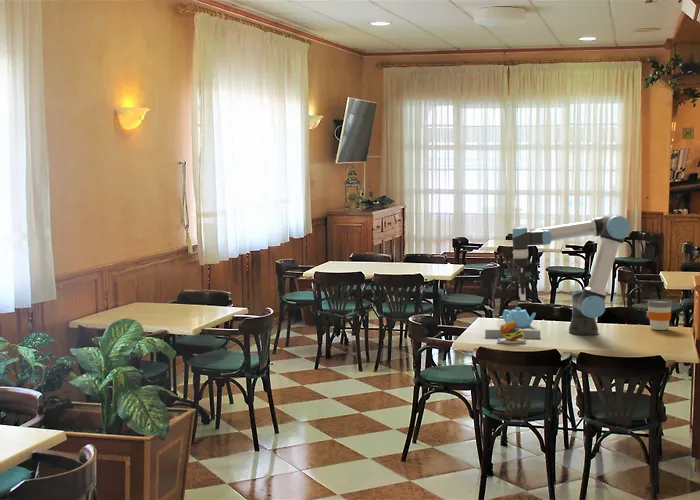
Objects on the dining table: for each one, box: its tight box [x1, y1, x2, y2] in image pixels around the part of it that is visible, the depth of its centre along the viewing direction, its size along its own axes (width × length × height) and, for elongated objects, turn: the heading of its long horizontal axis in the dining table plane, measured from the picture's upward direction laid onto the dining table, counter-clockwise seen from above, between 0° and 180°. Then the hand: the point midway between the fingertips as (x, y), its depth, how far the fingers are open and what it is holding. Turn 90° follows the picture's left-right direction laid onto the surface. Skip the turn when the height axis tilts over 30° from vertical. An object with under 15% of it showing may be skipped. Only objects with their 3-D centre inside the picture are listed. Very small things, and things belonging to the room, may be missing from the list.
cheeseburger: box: [499, 321, 524, 341], centre depth 418 cm, size 10×11×10 cm
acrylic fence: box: [484, 328, 541, 339], centre depth 429 cm, size 28×1×4 cm, turn 79°
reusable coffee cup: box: [646, 299, 673, 331], centre depth 448 cm, size 13×13×15 cm
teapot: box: [501, 306, 537, 329], centre depth 463 cm, size 15×15×11 cm
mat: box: [496, 338, 527, 345], centre depth 418 cm, size 14×14×1 cm
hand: (522, 298), depth 427 cm, fingers open, 13 cm apart
